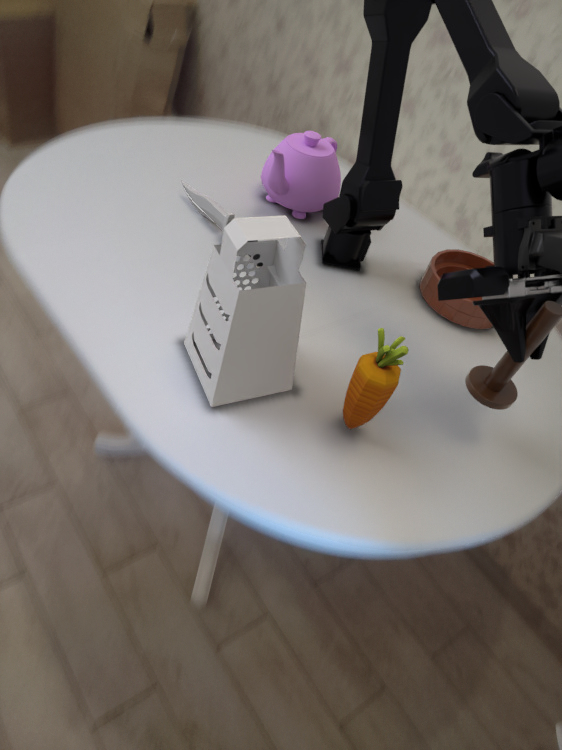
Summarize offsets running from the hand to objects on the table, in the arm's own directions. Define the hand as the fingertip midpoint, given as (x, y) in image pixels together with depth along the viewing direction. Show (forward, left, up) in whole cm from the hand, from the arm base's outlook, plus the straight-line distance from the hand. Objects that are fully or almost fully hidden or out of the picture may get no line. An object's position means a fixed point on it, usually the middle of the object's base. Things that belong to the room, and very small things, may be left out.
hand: (527, 360), depth 55 cm
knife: (-35, +33, -13) cm, 50 cm away
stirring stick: (-1, +1, -7) cm, 7 cm away
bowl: (+5, +27, -13) cm, 31 cm away
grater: (-30, +5, -13) cm, 33 cm away
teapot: (-23, +47, -13) cm, 54 cm away
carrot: (-16, -2, -13) cm, 21 cm away
